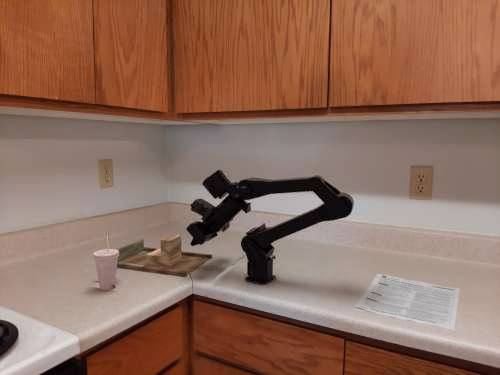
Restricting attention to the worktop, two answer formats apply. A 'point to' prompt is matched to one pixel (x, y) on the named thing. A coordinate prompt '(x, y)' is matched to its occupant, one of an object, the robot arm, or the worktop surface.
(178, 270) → the brown wooden tray
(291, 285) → the worktop surface
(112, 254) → the smoothie
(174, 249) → the step block
